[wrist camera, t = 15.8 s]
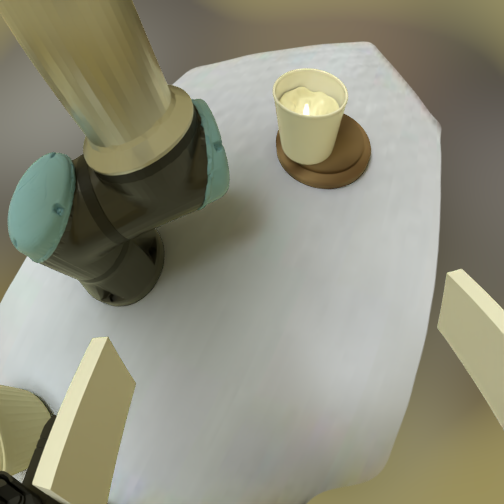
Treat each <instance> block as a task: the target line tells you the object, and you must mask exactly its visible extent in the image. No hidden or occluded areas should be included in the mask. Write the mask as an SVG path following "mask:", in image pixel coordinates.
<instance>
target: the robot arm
mask: <svg viewBox="0 0 504 504" xmlns="http://www.w3.org/2000/svg"><path fill="white" fill-rule="evenodd" d="M0 14H1V16H2V18H3V19H4V21H5V22H6V24H7V25H8V27H9V28H10V30H11V32H12V33H13V35H14V36H15V38H16V39H17V41H18V42H19V44H20V45H21V47H22V48H23V50H24V51H25V52H26V54H27V56H28V57H29V58H30V60H31V61H32V63H33V64H34V66H35V67H36V69H37V70H38V71H39V73H40V74H41V76H42V77H43V78H44V80H45V81H46V82H47V84H48V85H49V87H50V88H51V89H52V91H53V92H54V94H55V95H56V97H57V98H58V99H59V101H60V102H61V103H62V105H63V106H64V107H65V109H66V110H67V111H68V113H69V114H70V115H71V117H72V118H73V119H74V121H75V122H76V123H77V125H78V126H79V127H80V129H81V130H82V131H83V132H84V134H85V135H86V137H85V140H84V146H83V155H81V156H79V157H78V158H76V159H74V160H71V159H70V157H68V156H67V155H65V154H62V153H55V152H52V153H48V154H46V155H44V156H42V157H41V158H39V159H38V160H37V161H35V162H34V163H33V164H32V165H31V166H30V167H29V169H28V170H27V171H26V172H25V174H24V175H23V176H22V178H21V180H20V181H19V183H18V185H17V187H16V190H15V192H14V194H13V197H12V199H11V203H10V207H9V212H8V231H9V236H10V239H11V241H12V243H13V245H14V246H15V247H16V248H17V250H19V251H20V252H21V253H23V254H25V255H26V256H28V257H29V258H30V259H31V260H32V261H34V262H36V263H40V264H42V265H44V266H47V267H49V268H51V269H54V270H56V271H58V272H61V273H63V274H65V275H68V276H70V277H72V278H75V279H77V280H79V282H80V283H81V284H82V285H83V287H84V288H85V289H86V290H87V292H88V293H89V294H90V295H91V296H93V297H94V298H95V299H97V300H99V301H101V302H103V303H106V304H109V305H113V306H125V305H129V304H132V303H135V302H137V301H138V300H140V299H142V298H143V297H144V296H145V295H147V294H148V293H149V292H150V290H151V289H152V288H153V287H154V285H155V284H156V282H157V280H158V278H159V276H160V274H161V271H162V268H163V263H164V247H163V242H162V239H161V237H160V235H159V233H158V231H157V230H156V229H155V228H157V227H159V226H162V225H164V224H166V223H168V222H171V221H173V220H175V219H177V218H180V217H182V216H184V215H187V214H189V213H191V212H194V211H196V210H200V209H203V208H204V207H205V206H206V205H207V204H209V203H211V202H213V201H215V200H217V199H219V198H221V197H222V196H223V195H224V194H225V193H226V192H227V190H228V187H229V182H230V176H229V167H228V162H227V157H226V153H225V149H224V147H223V146H222V141H221V136H220V132H219V129H218V126H217V124H216V121H215V119H214V116H213V114H212V112H211V110H210V108H209V107H208V105H207V104H206V102H205V101H203V100H202V99H195V100H194V99H191V98H190V96H189V95H188V94H187V93H186V92H185V91H184V90H183V89H181V88H179V87H176V86H173V85H167V83H166V81H165V78H164V76H163V73H162V71H161V68H160V66H159V64H158V61H157V59H156V57H155V54H154V52H153V49H152V47H151V45H150V42H149V40H148V38H147V35H146V33H145V30H144V28H143V26H142V23H141V21H140V18H139V16H138V14H137V11H136V9H135V6H134V4H133V1H132V0H0ZM437 328H438V329H439V331H440V332H441V333H442V335H443V336H444V337H445V339H446V340H447V342H448V343H449V345H450V346H451V347H452V349H453V350H454V352H455V353H456V355H457V356H458V357H459V359H460V361H461V362H462V364H463V365H464V367H465V368H466V370H467V371H468V373H469V374H470V376H471V377H472V379H473V380H474V382H475V383H476V385H477V386H478V388H479V390H480V391H481V393H482V395H483V396H484V398H485V399H486V401H487V403H488V404H489V406H490V408H491V409H492V411H493V412H494V414H495V416H496V418H497V420H498V421H499V423H500V425H501V426H502V428H503V430H504V310H503V309H502V308H501V307H500V306H499V305H498V304H497V303H496V302H495V301H494V300H493V299H492V298H491V297H490V296H489V295H488V294H487V293H486V292H485V291H484V290H483V289H482V288H481V287H480V286H479V285H478V284H477V283H476V282H475V281H474V280H473V279H472V278H471V277H470V276H469V275H468V274H467V273H465V272H464V271H463V270H462V269H459V270H455V271H452V272H448V273H447V275H446V282H445V288H444V294H443V300H442V307H441V311H440V316H439V321H438V326H437ZM135 386H136V383H135V381H134V380H133V378H132V376H131V375H130V373H129V372H128V370H127V368H126V367H125V365H124V363H123V362H122V360H121V358H120V357H119V355H118V353H117V352H116V350H115V348H114V346H113V345H112V343H111V341H110V339H109V337H100V338H92V340H91V342H90V344H89V346H88V348H87V350H86V352H85V354H84V357H83V359H82V361H81V363H80V365H79V367H78V369H77V371H76V374H75V376H74V378H73V380H72V382H71V384H70V387H69V389H68V391H67V394H66V396H65V398H64V400H63V403H62V405H61V407H60V410H59V412H58V415H52V417H51V418H50V419H49V420H48V421H47V423H46V424H45V425H44V427H43V430H42V432H41V435H40V439H39V440H38V442H37V445H36V447H37V448H36V449H35V450H34V453H33V456H32V458H31V461H30V464H29V466H28V469H27V472H26V475H25V478H24V480H23V483H20V482H19V481H18V480H16V479H15V478H14V477H12V476H11V475H10V474H9V473H7V472H5V471H0V504H107V502H108V497H109V492H110V487H111V482H112V478H113V473H114V469H115V464H116V460H117V455H118V451H119V447H120V443H121V439H122V435H123V431H124V427H125V423H126V419H127V415H128V411H129V407H130V404H131V400H132V396H133V393H134V389H135Z"/></svg>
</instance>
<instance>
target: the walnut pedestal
mask: <svg viewBox="0 0 504 504" xmlns="http://www.w3.org/2000/svg"><path fill="white" fill-rule="evenodd" d="M276 147H277V156H278V159H279V161H280V163H281V165H282V167H283V168H284V169H285V171H286V172H287V173H288V174H289V175H290V176H292V177H293V178H294V179H296V180H297V181H299V182H301V183H303V184H305V185H308V186H311V187H315V188H322V189H334V188H340V187H343V186H346V185H349V184H351V183H352V182H354V181H355V180H357V179H358V178H359V177H360V176H361V175H362V174H363V172H364V171H365V169H366V166H367V164H368V161H369V158H370V154H371V146H370V141H369V138H368V136H367V134H366V132H365V131H364V129H363V128H362V127H361V126H360V125H359V124H358V123H357V122H356V121H355V120H354V119H352V118H351V117H349V116H347V115H345V114H343V117H342V120H341V124H340V127H339V131H338V135H337V138H336V141H335V145H334V148H333V151H332V153H331V155H330V156H329V157H328V158H327V159H326V160H324V161H323V162H321V163H318V164H313V165H305V164H300V163H297V162H295V161H293V160H291V159H290V158H289V157H288V156H287V155H286V154H285V153H284V151H283V149H282V146H281V141H280V134H279V130H278V133H277V137H276Z"/></svg>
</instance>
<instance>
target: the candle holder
mask: <svg viewBox="0 0 504 504" xmlns="http://www.w3.org/2000/svg"><path fill="white" fill-rule="evenodd" d="M273 97H274V101H275V107H276V114H277V120H278V127H279V134H280V141H281V146H282V149H283V151H284V153H285V154H286V155H287V156H288V157H289V158H290V159H291V160H293V161H295V162H297V163H300V164H305V165H313V164H318V163H321V162H323V161H324V160H326V159H327V158H328V157H329V156H330V155H331V153H332V151H333V148H334V145H335V141H336V138H337V135H338V131H339V127H340V124H341V120H342V117H343V113H344V109H345V106H346V104H347V101H348V92H347V89H346V87H345V85H344V84H343V83H342V82H341V81H340V80H339V79H338V78H337V77H335V76H334V75H332V74H330V73H328V72H325V71H322V70H317V69H309V68H305V69H296V70H292V71H289V72H287V73H285V74H283V75H282V76H280V77H279V78H278V79H277V81H276V82H275V84H274V86H273Z"/></svg>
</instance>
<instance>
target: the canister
mask: <svg viewBox="0 0 504 504" xmlns="http://www.w3.org/2000/svg"><path fill="white" fill-rule="evenodd" d="M50 418H51V416H50V413H49V412H48V410H47V408H46V407H45V405H44V403H42V401H41V400H40V399H39V398H38V397H37V396H35V395H34V394H32V393H31V392H28V391H26V390H23V389H19V388H14V387H9V386H4V385H0V471H5V472H7V473H9V474H10V475H11V476H12V475H15V474H17V473H19V472H21V471H23V470H25V469H27V468H28V466H29V464H30V461H31V458H32V456H33V453H34V450H35V449H36V448H37V447H36V445H37V442H38V440H39V439H40V435H41V432H42V430H43V427H44V425H45V424H46V423H47V421H48V420H49V419H50Z"/></svg>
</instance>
